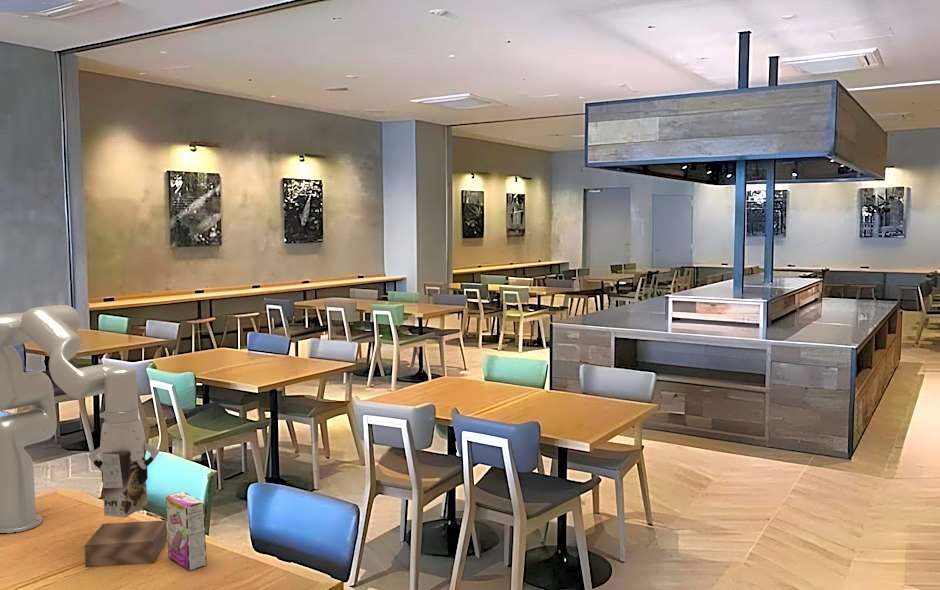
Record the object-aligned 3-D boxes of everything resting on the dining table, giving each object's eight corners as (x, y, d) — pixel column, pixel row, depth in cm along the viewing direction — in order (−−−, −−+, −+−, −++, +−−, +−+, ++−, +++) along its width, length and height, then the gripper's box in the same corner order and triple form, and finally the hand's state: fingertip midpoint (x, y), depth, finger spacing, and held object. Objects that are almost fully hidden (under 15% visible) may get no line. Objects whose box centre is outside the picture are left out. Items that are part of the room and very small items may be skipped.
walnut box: (85, 568, 189) (84, 545, 188) (103, 545, 203) (102, 523, 202) (153, 564, 191) (152, 541, 191) (167, 542, 205) (166, 520, 204)
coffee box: (126, 518, 191) (123, 454, 189) (103, 516, 192) (100, 453, 191) (148, 505, 200) (146, 444, 198) (126, 503, 201) (123, 443, 200)
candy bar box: (166, 558, 194) (164, 495, 192) (185, 552, 197) (183, 490, 196) (188, 572, 186) (186, 506, 185) (207, 565, 190) (205, 500, 188)
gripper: (80, 421, 189) (83, 491, 190) (154, 418, 192) (157, 486, 193) (90, 414, 196) (93, 481, 198) (161, 411, 199) (164, 477, 200)
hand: (125, 483), depth 195 cm, fingers closed on coffee box, 7 cm apart
